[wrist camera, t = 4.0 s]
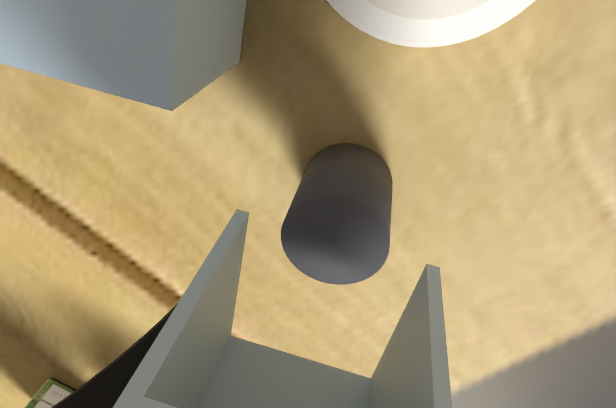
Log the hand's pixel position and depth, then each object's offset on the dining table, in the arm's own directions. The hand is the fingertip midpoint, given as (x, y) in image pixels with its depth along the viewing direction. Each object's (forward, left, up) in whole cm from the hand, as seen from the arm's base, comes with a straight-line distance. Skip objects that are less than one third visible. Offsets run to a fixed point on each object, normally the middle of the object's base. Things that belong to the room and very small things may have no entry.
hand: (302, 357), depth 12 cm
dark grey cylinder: (0, 0, -9) cm, 9 cm away
